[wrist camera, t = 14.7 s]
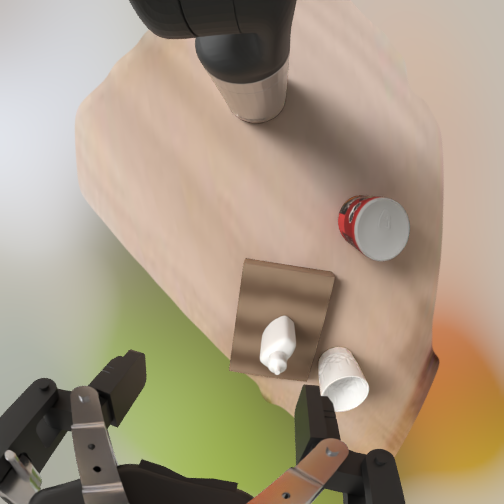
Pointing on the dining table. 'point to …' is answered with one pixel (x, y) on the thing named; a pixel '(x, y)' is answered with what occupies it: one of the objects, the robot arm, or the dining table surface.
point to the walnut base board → (279, 314)
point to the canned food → (375, 226)
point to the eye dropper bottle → (278, 344)
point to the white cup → (342, 379)
